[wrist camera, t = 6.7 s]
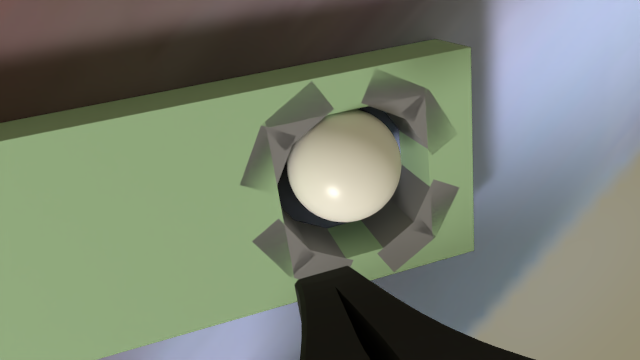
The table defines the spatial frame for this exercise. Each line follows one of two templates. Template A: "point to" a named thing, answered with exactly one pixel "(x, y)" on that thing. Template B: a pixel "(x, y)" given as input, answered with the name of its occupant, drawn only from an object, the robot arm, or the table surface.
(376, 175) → the ball
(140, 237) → the putting mat
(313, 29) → the table surface
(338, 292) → the robot arm
